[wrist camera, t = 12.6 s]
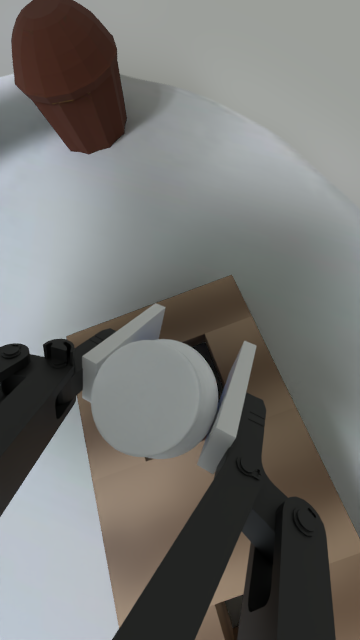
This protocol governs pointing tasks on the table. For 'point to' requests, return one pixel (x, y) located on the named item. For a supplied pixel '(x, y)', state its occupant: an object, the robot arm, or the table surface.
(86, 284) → the table surface
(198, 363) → the pill bottle
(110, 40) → the muffin
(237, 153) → the table surface
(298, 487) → the socket board
